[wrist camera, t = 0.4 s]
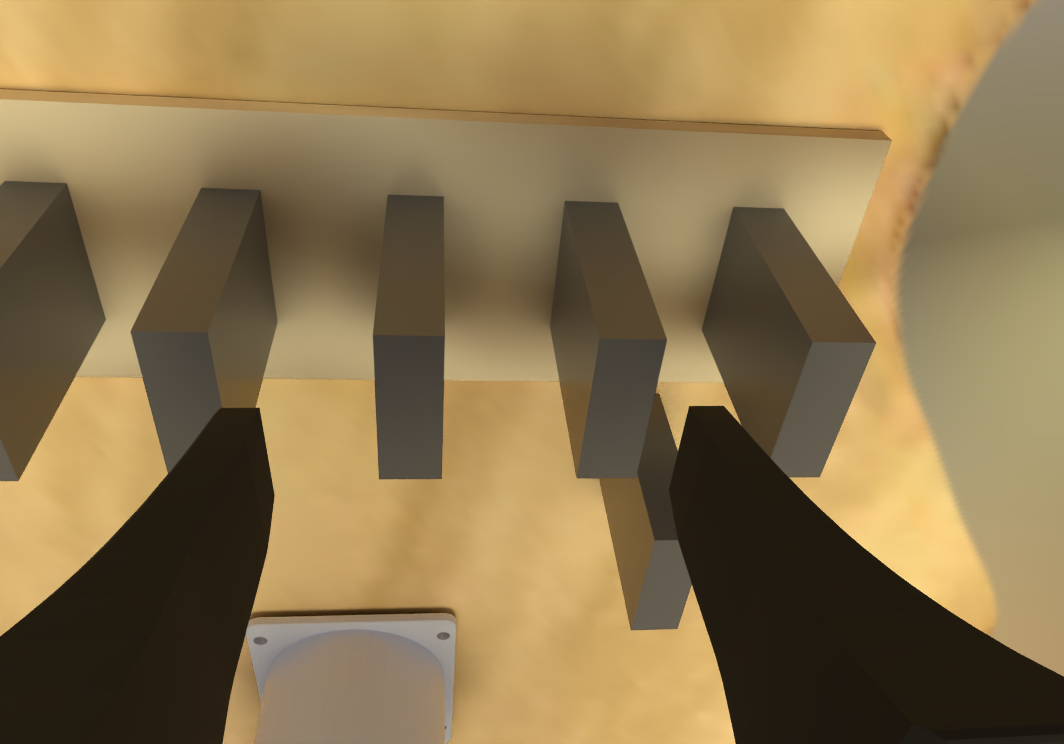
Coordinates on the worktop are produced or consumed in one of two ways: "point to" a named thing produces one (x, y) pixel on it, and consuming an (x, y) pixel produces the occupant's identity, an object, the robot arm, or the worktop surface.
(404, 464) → the domino
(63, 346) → the domino
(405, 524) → the worktop surface
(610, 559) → the worktop surface
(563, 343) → the domino
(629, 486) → the domino
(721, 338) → the domino
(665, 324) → the board
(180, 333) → the domino
